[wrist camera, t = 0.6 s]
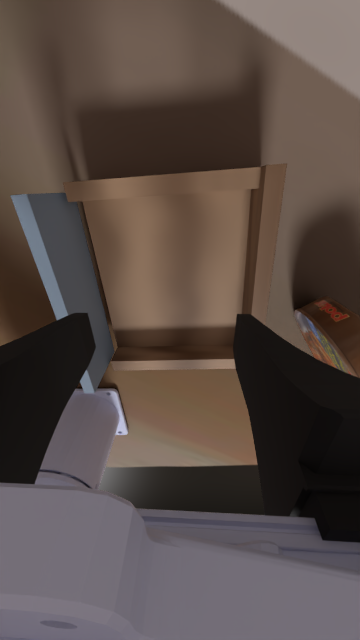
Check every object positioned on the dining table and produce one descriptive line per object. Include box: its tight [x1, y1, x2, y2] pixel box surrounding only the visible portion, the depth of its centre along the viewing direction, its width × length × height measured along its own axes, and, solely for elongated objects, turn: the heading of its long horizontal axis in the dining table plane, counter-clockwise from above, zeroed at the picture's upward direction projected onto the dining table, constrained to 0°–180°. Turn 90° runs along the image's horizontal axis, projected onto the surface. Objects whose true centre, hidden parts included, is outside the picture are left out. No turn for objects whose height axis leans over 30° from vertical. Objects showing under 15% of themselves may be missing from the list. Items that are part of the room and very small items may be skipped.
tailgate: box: [10, 193, 115, 393], centre depth 16 cm, size 1×13×5 cm, turn 4°
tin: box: [294, 296, 360, 378], centre depth 19 cm, size 15×3×8 cm, turn 34°
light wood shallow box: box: [63, 164, 287, 370], centre depth 17 cm, size 12×14×5 cm
